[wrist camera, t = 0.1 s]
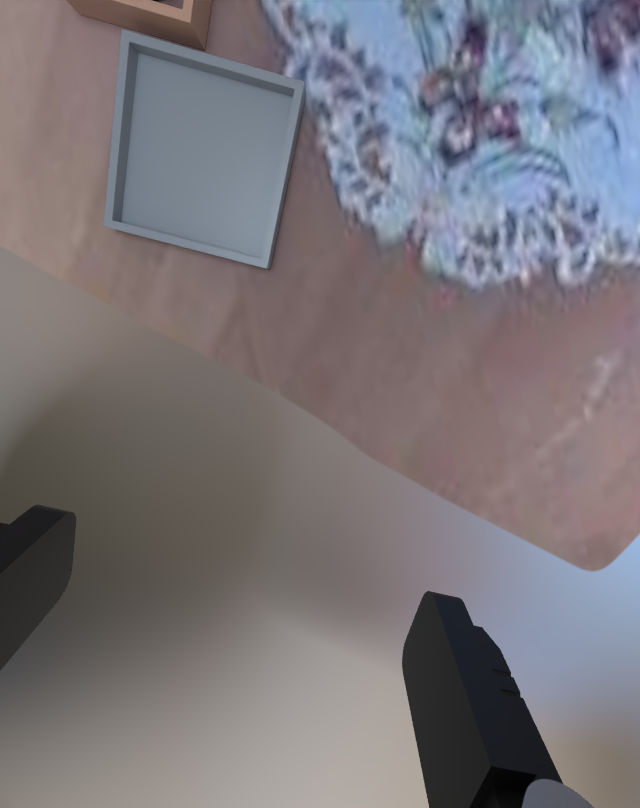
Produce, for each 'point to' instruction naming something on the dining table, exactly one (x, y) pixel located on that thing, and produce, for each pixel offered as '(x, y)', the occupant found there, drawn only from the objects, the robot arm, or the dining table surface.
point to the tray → (200, 149)
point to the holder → (153, 18)
